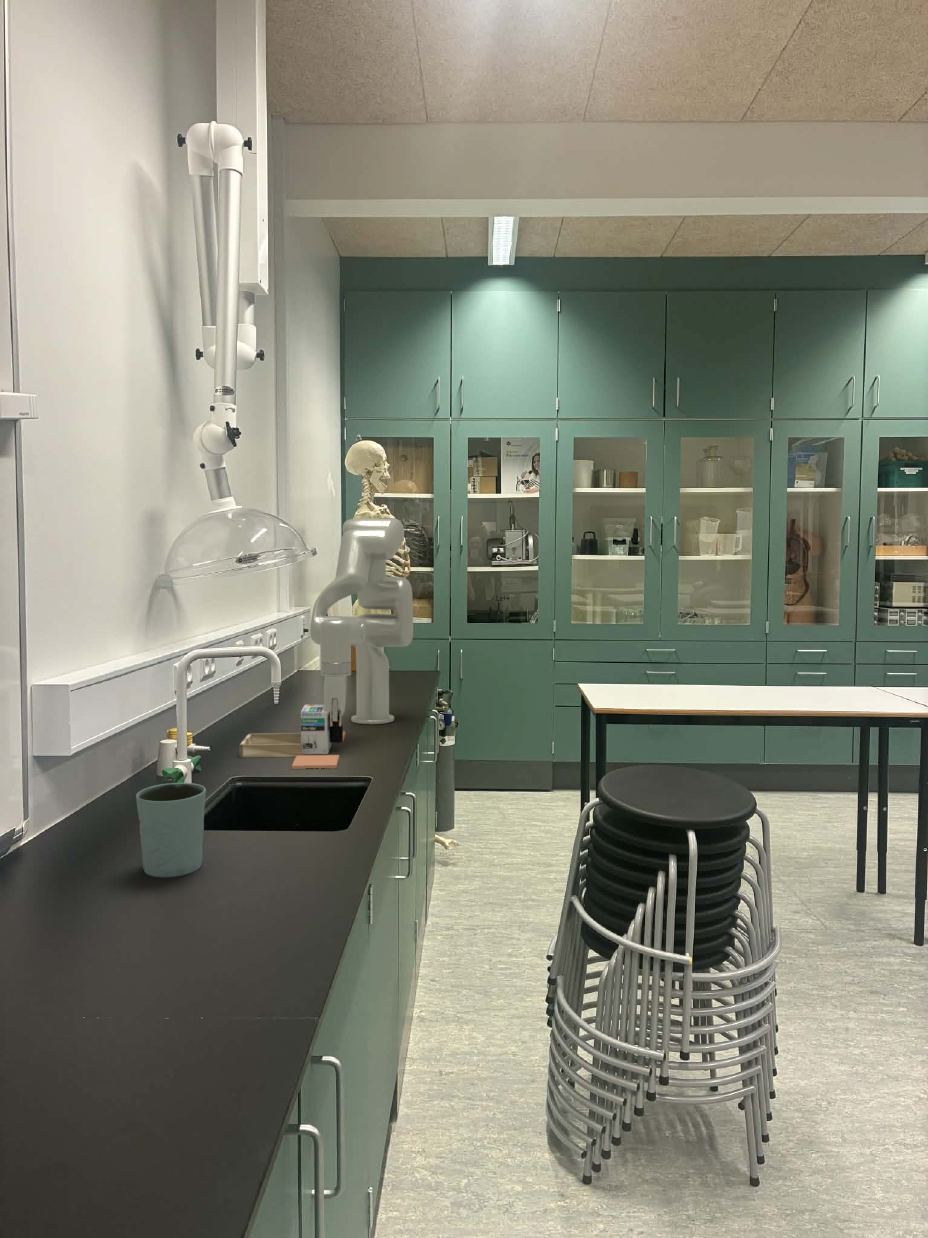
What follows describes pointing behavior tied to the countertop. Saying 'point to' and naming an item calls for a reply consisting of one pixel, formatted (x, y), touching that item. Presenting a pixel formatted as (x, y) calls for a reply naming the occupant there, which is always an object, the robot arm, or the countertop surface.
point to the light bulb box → (315, 730)
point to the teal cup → (171, 828)
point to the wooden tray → (271, 745)
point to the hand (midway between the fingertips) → (336, 741)
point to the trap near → (315, 761)
